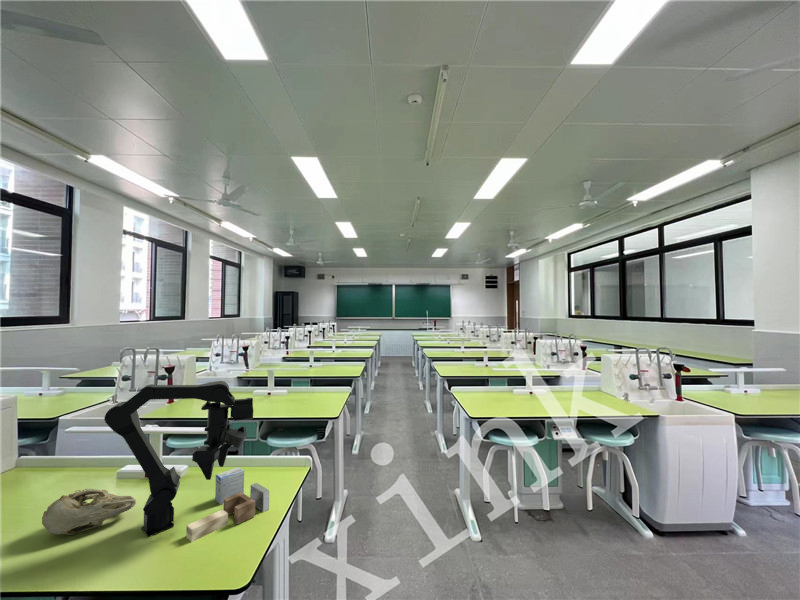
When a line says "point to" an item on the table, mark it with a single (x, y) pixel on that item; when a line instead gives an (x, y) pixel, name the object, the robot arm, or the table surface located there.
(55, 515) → the skull
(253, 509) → the cradle
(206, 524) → the block
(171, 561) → the table surface
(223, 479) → the medicine box
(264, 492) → the wall
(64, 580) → the table surface
